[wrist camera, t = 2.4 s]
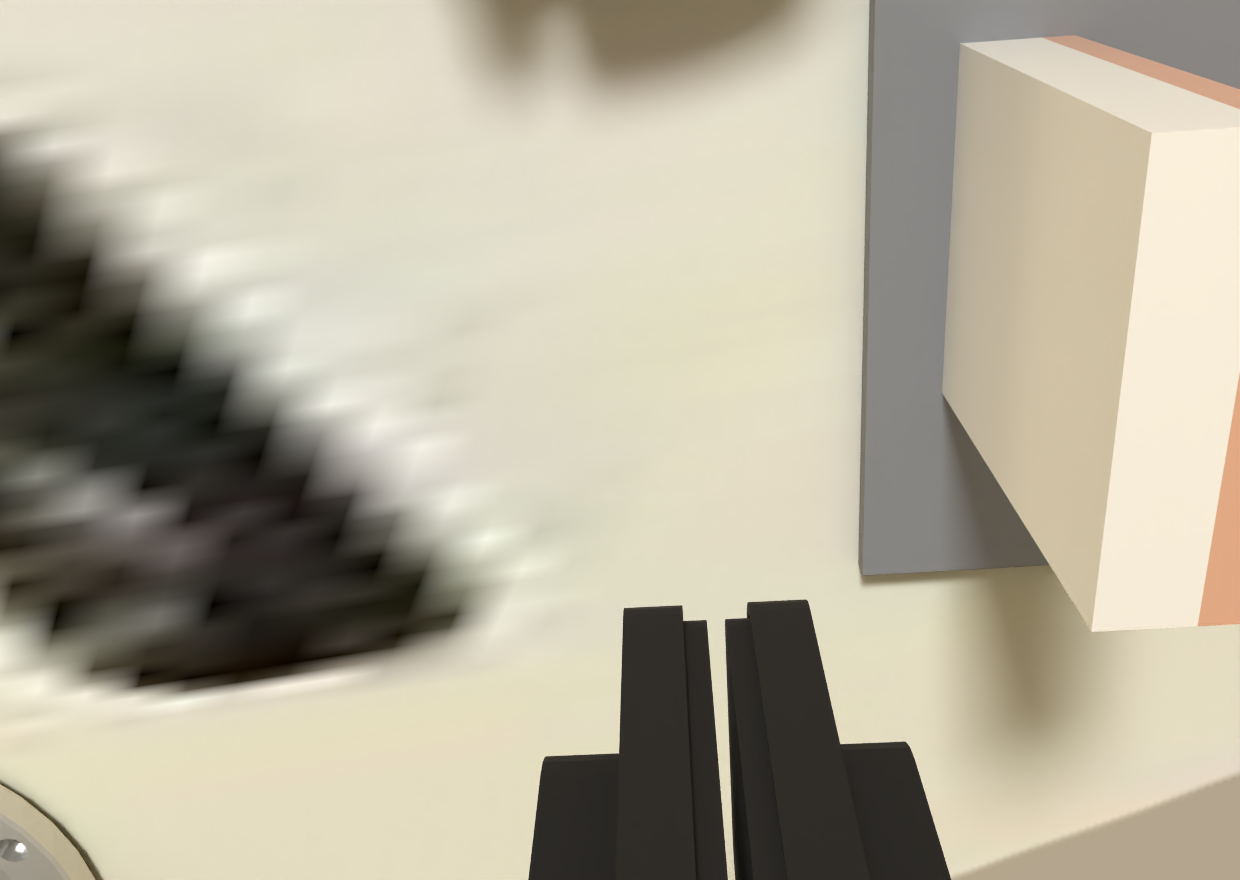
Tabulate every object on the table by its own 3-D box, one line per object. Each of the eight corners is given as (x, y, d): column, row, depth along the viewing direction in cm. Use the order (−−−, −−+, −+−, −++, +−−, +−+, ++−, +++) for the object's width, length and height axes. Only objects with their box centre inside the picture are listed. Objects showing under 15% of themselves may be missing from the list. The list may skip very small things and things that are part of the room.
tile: (1043, 386, 28) (1241, 624, 19) (942, 392, 28) (1091, 631, 19) (1075, 35, 25) (1334, 120, 16) (959, 43, 25) (1151, 132, 16)
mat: (1481, 528, 30) (1496, 539, 30) (858, 563, 31) (862, 575, 30) (1706, -284, 23) (1732, -288, 22) (873, -219, 23) (880, -221, 23)
